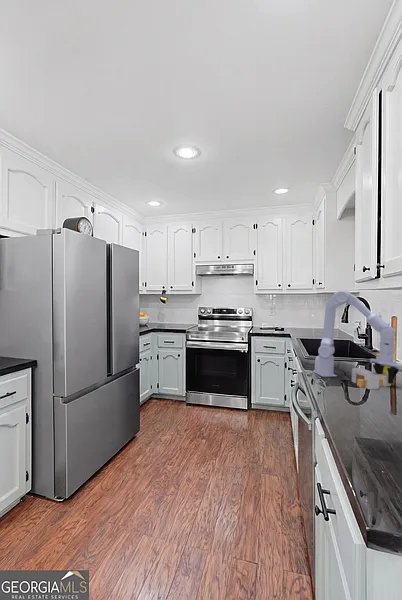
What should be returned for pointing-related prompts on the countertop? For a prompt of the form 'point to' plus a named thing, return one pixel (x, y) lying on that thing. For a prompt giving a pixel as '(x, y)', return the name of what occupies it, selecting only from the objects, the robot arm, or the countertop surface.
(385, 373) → the supplement box
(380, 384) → the plug
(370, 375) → the housing
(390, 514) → the countertop surface
